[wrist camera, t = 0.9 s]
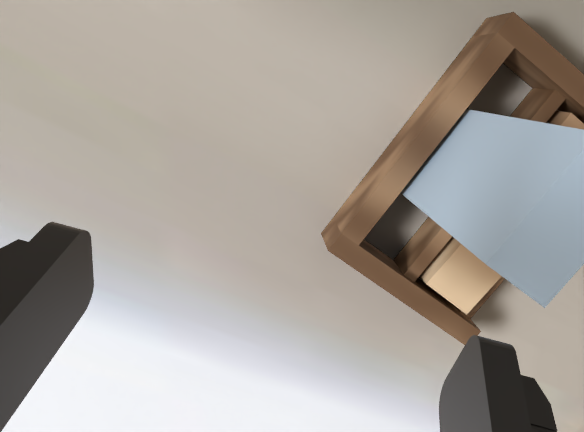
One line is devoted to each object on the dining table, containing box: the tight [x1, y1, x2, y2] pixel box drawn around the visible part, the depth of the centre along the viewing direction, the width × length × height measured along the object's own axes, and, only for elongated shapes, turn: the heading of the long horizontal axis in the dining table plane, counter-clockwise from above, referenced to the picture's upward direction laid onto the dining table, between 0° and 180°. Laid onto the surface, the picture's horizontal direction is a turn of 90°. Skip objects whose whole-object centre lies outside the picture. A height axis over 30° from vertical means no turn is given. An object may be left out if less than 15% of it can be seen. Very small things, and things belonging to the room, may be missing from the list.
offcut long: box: [420, 236, 502, 315], centre depth 39 cm, size 8×4×4 cm, turn 142°
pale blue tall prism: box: [400, 109, 584, 308], centre depth 31 cm, size 7×4×17 cm, turn 144°
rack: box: [321, 12, 584, 345], centre depth 38 cm, size 19×13×4 cm
